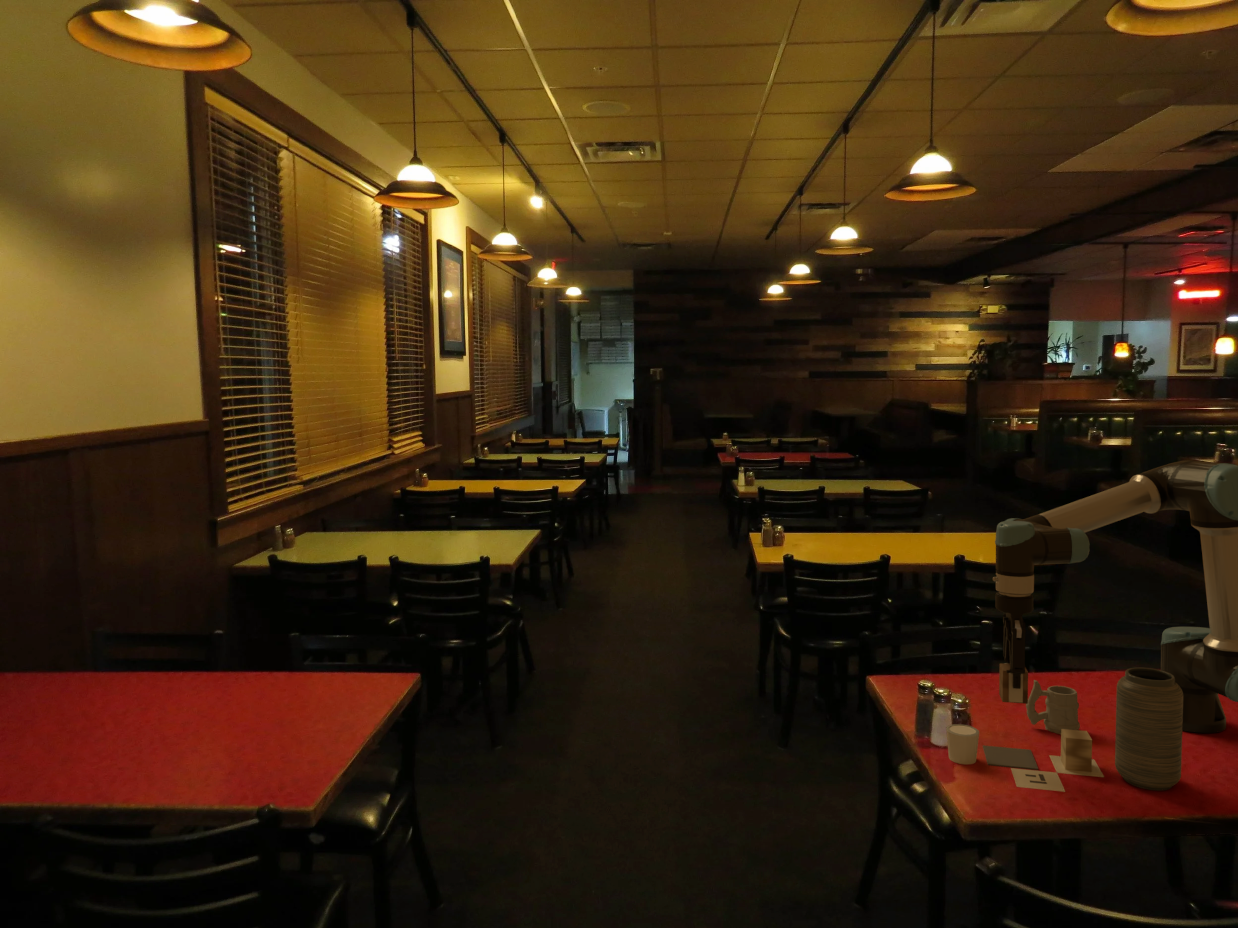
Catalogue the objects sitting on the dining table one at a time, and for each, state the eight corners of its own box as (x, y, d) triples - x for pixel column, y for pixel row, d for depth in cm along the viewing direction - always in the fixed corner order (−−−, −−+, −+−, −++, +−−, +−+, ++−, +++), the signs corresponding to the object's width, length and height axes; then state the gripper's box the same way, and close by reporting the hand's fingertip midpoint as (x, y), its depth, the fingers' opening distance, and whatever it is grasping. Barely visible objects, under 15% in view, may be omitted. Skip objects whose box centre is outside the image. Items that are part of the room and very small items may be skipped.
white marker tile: (1056, 773, 181) (1056, 772, 181) (1065, 792, 173) (1065, 791, 173) (1010, 769, 184) (1010, 767, 184) (1016, 787, 175) (1016, 786, 175)
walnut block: (1023, 695, 189) (1024, 664, 188) (1027, 703, 184) (1028, 672, 183) (999, 693, 190) (999, 663, 189) (1002, 701, 185) (1002, 670, 185)
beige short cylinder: (976, 769, 184) (976, 737, 184) (942, 762, 188) (943, 731, 187) (981, 757, 190) (981, 727, 190) (949, 751, 194) (949, 721, 193)
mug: (1084, 737, 200) (1085, 687, 199) (1030, 734, 202) (1031, 685, 201) (1073, 724, 207) (1074, 676, 206) (1021, 722, 209) (1022, 674, 208)
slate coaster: (1030, 752, 192) (1030, 749, 192) (1038, 770, 183) (1038, 768, 183) (982, 747, 195) (982, 745, 195) (987, 766, 186) (987, 763, 186)
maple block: (1086, 761, 186) (1086, 730, 185) (1091, 771, 181) (1092, 739, 180) (1060, 759, 187) (1061, 728, 187) (1065, 769, 183) (1065, 737, 182)
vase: (1191, 796, 170) (1195, 684, 168) (1128, 793, 172) (1130, 682, 170) (1165, 771, 181) (1168, 665, 179) (1105, 768, 183) (1108, 664, 181)
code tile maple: (1094, 760, 187) (1094, 759, 187) (1104, 778, 179) (1104, 776, 179) (1049, 756, 190) (1049, 754, 190) (1056, 773, 181) (1056, 772, 181)
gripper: (990, 582, 195) (989, 682, 197) (1001, 601, 177) (1000, 710, 179) (1025, 584, 193) (1025, 684, 194) (1041, 603, 175) (1040, 713, 177)
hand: (1013, 696), depth 187 cm, fingers closed on walnut block, 5 cm apart
